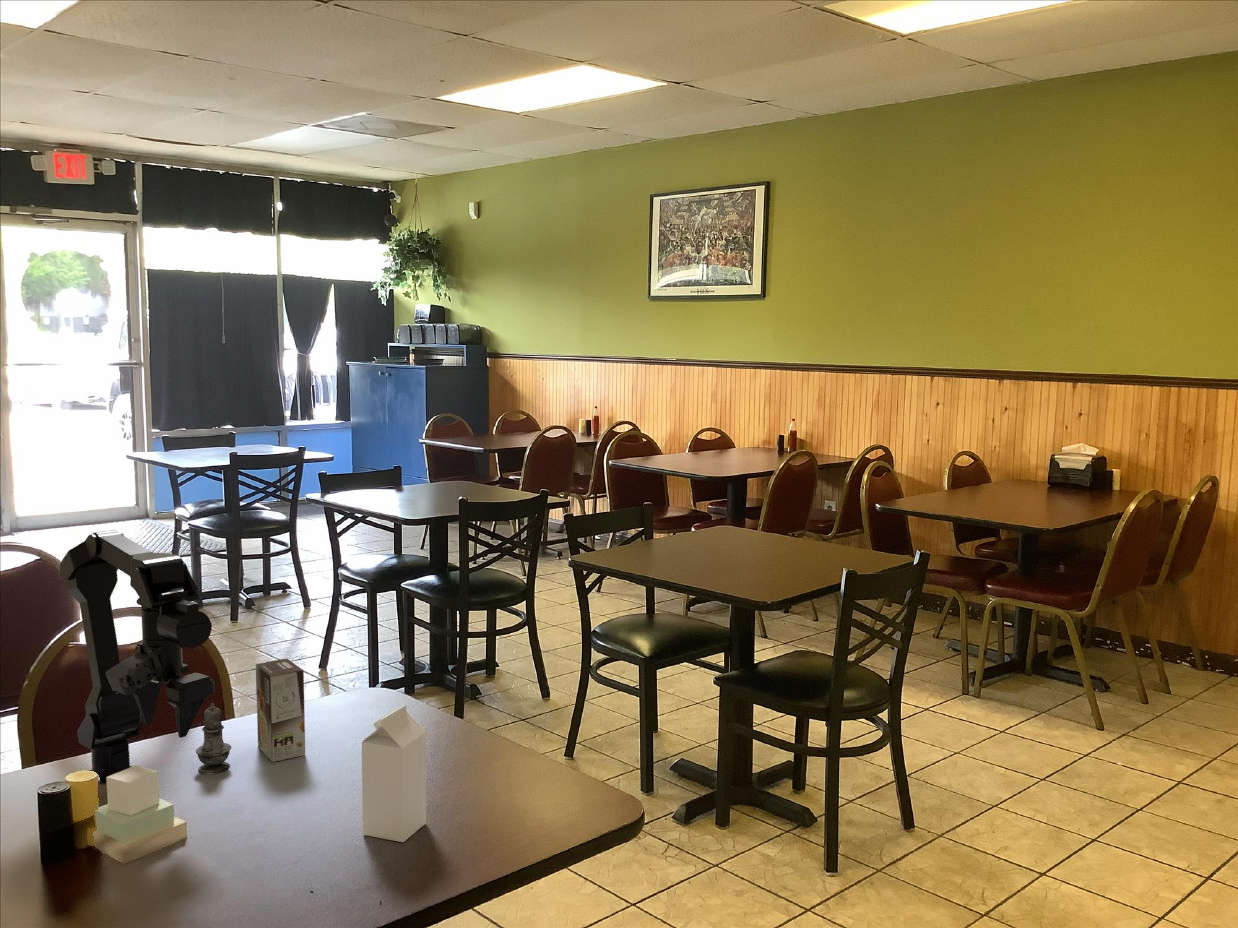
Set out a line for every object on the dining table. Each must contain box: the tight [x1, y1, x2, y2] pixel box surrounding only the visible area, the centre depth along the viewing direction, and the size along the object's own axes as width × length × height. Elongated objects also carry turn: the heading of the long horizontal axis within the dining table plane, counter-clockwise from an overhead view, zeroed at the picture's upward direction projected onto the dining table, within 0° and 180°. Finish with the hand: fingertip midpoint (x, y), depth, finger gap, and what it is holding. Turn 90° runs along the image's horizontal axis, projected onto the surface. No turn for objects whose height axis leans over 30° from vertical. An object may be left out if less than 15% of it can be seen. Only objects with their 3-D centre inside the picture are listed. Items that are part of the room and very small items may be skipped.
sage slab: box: [95, 797, 175, 844], centre depth 157 cm, size 8×8×3 cm
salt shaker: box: [195, 702, 232, 775], centre depth 184 cm, size 6×6×12 cm
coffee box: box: [255, 658, 306, 763], centre depth 192 cm, size 9×6×16 cm
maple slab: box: [93, 815, 188, 865], centre depth 157 cm, size 10×10×3 cm
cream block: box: [106, 765, 160, 816], centre depth 157 cm, size 5×5×5 cm
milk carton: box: [361, 704, 427, 843], centre depth 161 cm, size 7×7×19 cm
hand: (165, 730), depth 167 cm, fingers open, 9 cm apart
